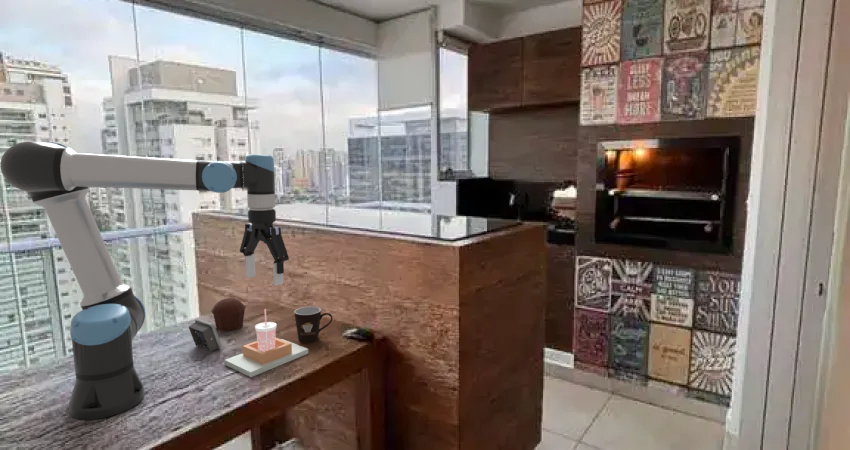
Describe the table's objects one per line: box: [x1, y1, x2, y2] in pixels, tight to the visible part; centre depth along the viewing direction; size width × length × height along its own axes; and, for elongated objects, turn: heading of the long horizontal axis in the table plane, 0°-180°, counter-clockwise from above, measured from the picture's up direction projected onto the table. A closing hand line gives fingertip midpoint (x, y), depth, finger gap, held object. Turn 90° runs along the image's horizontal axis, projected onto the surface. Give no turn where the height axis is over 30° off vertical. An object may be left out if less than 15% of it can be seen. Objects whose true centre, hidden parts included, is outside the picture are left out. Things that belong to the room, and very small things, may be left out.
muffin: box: [211, 297, 247, 332], centre depth 165 cm, size 12×11×10 cm
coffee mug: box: [293, 306, 333, 344], centre depth 154 cm, size 12×9×10 cm
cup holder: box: [224, 336, 309, 378], centre depth 139 cm, size 20×13×4 cm, turn 144°
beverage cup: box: [254, 308, 277, 352], centre depth 139 cm, size 6×6×14 cm
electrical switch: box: [188, 318, 223, 353], centre depth 146 cm, size 9×5×9 cm, turn 57°
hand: (264, 280), depth 136 cm, fingers open, 13 cm apart
